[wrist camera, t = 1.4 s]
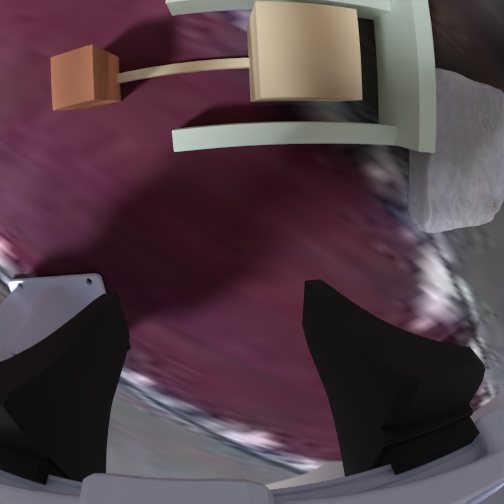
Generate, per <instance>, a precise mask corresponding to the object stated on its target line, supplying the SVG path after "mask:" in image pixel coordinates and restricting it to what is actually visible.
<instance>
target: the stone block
mask: <svg viewBox="0 0 504 504" xmlns="http://www.w3.org/2000/svg"><path fill="white" fill-rule="evenodd" d="M435 76H436V143H435V153H430V152H418V151H415V150H411V149H409V178H408V213H409V216H410V218H411V221H412V222H413V223H414V225H415V226H416V227H417V229H418V230H420V231H423V232H427V233H440V232H442V231H449V230H452V229H455V228H462V227H469V226H478V225H481V224H485V223H487V222H489V221H491V220H492V219H493V218H494V215H495V213H496V212H498V211H499V208H500V206H501V204H502V202H503V199H504V93H503V92H502V91H501V90H500V89H497V88H494V87H492V86H490V85H487V84H483V83H479V82H477V81H472V80H471V79H468V78H466V77H464V76H462V75H461V74H458V73H455V72H452V71H448V70H444V69H439V68H435Z"/></svg>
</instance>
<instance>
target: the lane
mask: <svg viewBox="0 0 504 504" xmlns="http://www.w3.org/2000/svg"><path fill="white" fill-rule="evenodd" d="M255 1H278V2H298V3H311V4H321V5H330V6H338V7H345V8H352V9H356V10H357V17H359V18H364V19H370V20H373V22H374V32H375V44H376V58H377V77H378V124H375V123H358V122H333V121H275V122H250V123H233V124H219V125H207V126H197V127H187V128H178V129H175V130H172V136H173V147H174V152H179V151H188V150H198V149H209V148H221V147H234V146H250V145H270V144H306V143H341V144H376V145H396V146H400V147H404V148H407V149H411V150H415V151H418V152H430V153H435V143H436V76H435V59H434V46H433V36H432V27H431V19H430V12H429V6H428V0H166V4H167V6H168V8H169V10H170V12H171V14H172V16H174V15H181V14H190V13H199V12H210V11H225V10H253V7H254V4H255Z"/></svg>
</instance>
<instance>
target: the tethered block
mask: <svg viewBox="0 0 504 504" xmlns="http://www.w3.org/2000/svg"><path fill="white" fill-rule="evenodd" d="M247 39H248V57H249V58H231V59H216V60H204V61H194V62H185V63H177V64H170V65H163V66H156V67H150V68H144V69H139V70H133V71H128V72H123V73H119V57H117V56H115V55H113V54H111V53H109V52H107V51H105V50H103V49H101V48H99V47H97V46H94V45H89V46H86V47H82V48H79V49H76V50H72V51H69V52H66V53H63V54H60V55H57V56H54V57H52V58H51V85H52V103H53V110H72V109H88V108H93V107H97V106H101V105H106V104H111V103H115V102H120V101H121V91H120V83H125V82H130V81H135V80H141V79H146V78H152V77H159V76H166V75H173V74H181V73H189V72H198V71H209V70H222V69H239V68H249V76H250V95H251V102H264V101H319V102H335V101H353V100H362V75H361V56H360V42H359V30H358V19H357V10H356V9H352V8H345V7H338V6H330V5H321V4H311V3H298V2H278V1H255V4H254V7H253V10H252V13H251V16H250V19H249V22H248V25H247Z"/></svg>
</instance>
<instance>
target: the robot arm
mask: <svg viewBox="0 0 504 504" xmlns="http://www.w3.org/2000/svg"><path fill="white" fill-rule="evenodd" d="M88 279H90V280H91V281H92V282H89V281H88ZM20 283H21V284H22V285H23V286H22V285H21V284H20ZM8 285H9V288H10V291H11V293H10V294H9V296H8V297H7V298H6V299H5V300H4V301H3V302H2V304H1V305H0V504H477V503H478V502H480V501H482V500H483V499H485V498H486V497H488V496H490V495H491V494H493V493H494V492H496V491H497V490H498V489H499V488H501V487H502V486H503V485H504V407H503V406H501V407H499V408H497V409H495V410H493V411H491V412H490V413H488V414H486V415H484V416H482V417H480V418H479V419H478V420H477V421H475V422H473V421H472V419H471V418H470V416H471V415H472V414H473V410H472V408H471V407H470V405H469V403H470V401H471V400H472V398H473V396H474V395H475V393H476V391H477V390H478V388H479V386H480V384H481V382H482V380H483V378H484V373H485V366H484V364H483V362H482V361H481V360H480V359H479V357H478V356H477V355H476V354H475V353H474V351H473V350H472V349H471V348H470V347H465V346H460V345H454V344H448V343H443V342H439V341H436V340H432V339H428V338H425V337H422V336H419V335H416V334H413V333H411V332H408V331H405V330H403V329H400V328H398V327H396V326H393V325H391V324H389V323H387V322H385V321H383V320H381V319H379V318H378V317H376V316H374V315H372V314H371V313H369V312H367V311H366V310H364V309H362V308H361V307H359V306H358V305H356V304H355V303H353V302H352V301H350V300H349V299H347V298H346V297H345V296H343V295H342V294H340V293H339V292H338V291H336V290H335V289H334V288H332V287H331V286H329V285H328V284H327V283H325V282H324V281H322V280H321V279H320V280H308V281H305V289H304V305H303V320H302V325H303V329H304V333H305V338H306V341H307V345H308V348H309V350H310V353H311V355H312V358H313V360H314V363H315V365H316V368H317V370H318V373H319V375H320V378H321V380H322V383H323V385H324V387H325V390H326V393H327V396H328V399H329V403H330V407H331V411H332V415H333V419H334V423H335V427H336V432H337V436H338V441H339V446H340V451H341V456H342V461H343V467H344V473H345V477H342V478H337V479H333V480H329V481H323V482H318V483H313V484H308V485H302V486H296V487H288V488H282V489H273V490H269V489H268V488H267V487H266V486H265V485H263V484H261V483H256V482H252V481H248V480H244V479H172V478H153V477H140V476H129V475H121V474H113V473H106V449H107V437H108V427H109V419H110V412H111V406H112V402H113V398H114V395H115V391H116V388H117V384H118V381H119V378H120V374H121V371H122V368H123V365H124V361H125V358H126V353H127V348H128V341H129V335H130V334H129V331H128V328H127V325H126V321H125V318H124V314H123V311H122V308H121V304H120V300H119V297H118V293H106V290H105V287H104V284H103V280H102V278H101V276H100V275H99V274H97V273H91V274H77V275H63V276H49V277H35V278H20V279H11V280H10V281H9V283H8Z"/></svg>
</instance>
